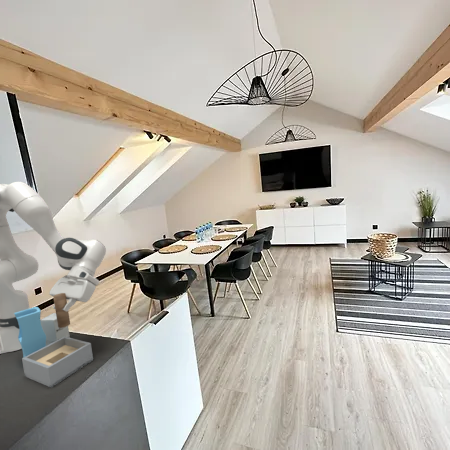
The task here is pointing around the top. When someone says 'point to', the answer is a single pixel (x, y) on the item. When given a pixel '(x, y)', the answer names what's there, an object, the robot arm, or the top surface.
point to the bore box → (57, 361)
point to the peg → (60, 314)
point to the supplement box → (53, 329)
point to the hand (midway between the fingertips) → (59, 309)
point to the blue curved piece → (30, 330)
